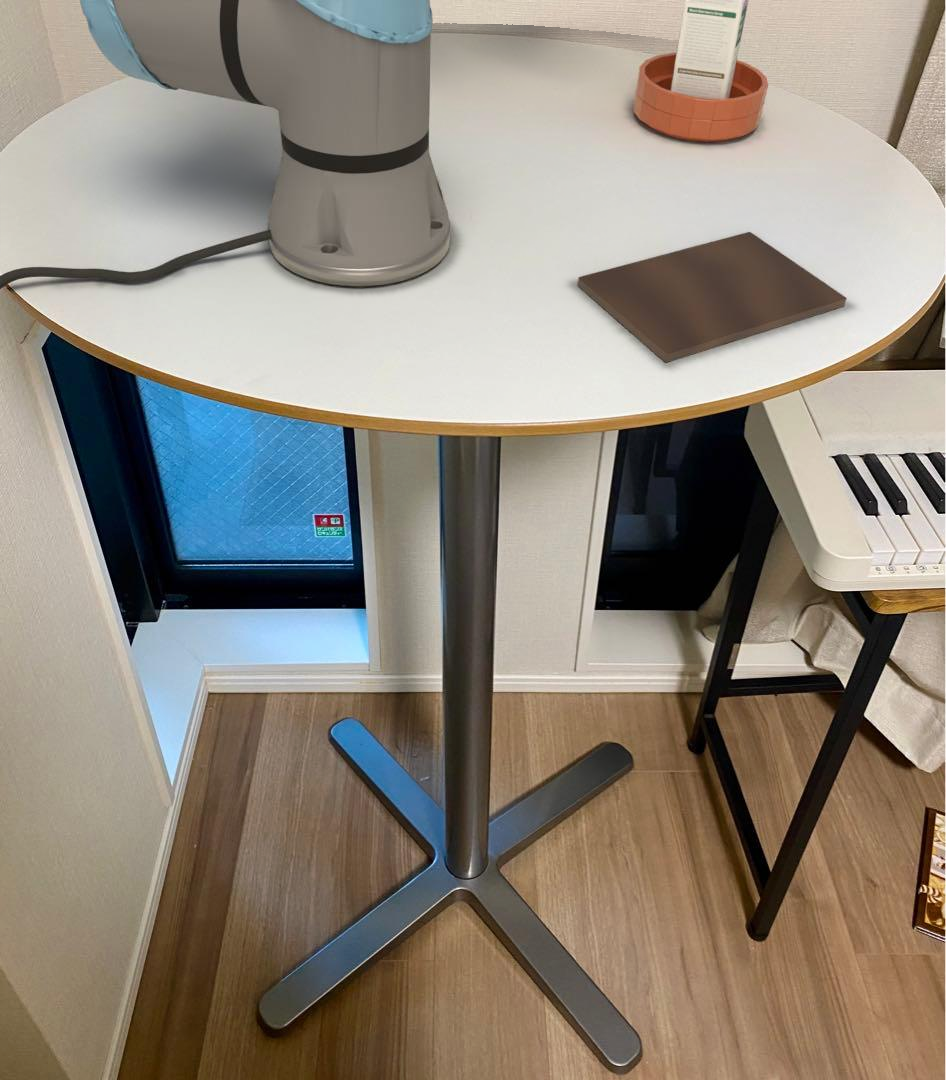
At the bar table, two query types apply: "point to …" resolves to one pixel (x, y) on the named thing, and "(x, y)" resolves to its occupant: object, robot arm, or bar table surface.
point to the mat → (709, 295)
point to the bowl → (698, 103)
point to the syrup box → (708, 47)
